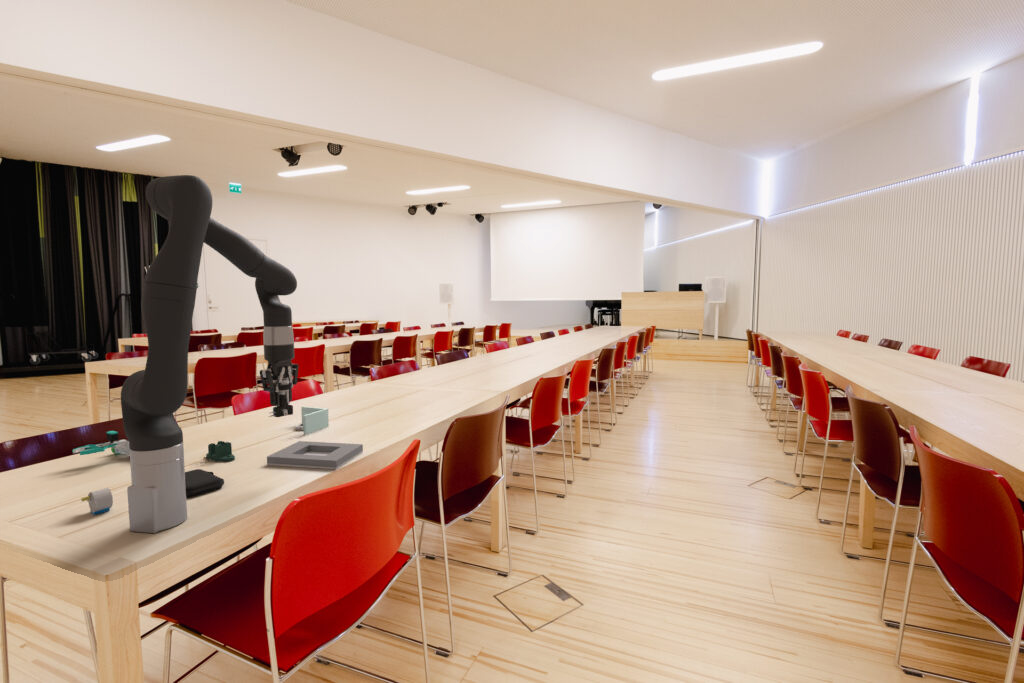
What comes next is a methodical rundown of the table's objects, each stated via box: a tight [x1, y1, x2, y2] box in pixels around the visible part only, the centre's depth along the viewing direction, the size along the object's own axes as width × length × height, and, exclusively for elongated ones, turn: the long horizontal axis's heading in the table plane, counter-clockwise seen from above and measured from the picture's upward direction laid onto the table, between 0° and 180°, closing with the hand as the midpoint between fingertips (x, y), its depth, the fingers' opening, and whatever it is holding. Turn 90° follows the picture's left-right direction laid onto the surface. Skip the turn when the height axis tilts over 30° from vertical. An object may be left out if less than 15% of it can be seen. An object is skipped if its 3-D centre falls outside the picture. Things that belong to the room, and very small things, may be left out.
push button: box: [268, 379, 294, 418], centre depth 132 cm, size 7×5×10 cm
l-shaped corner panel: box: [294, 406, 330, 435], centre depth 179 cm, size 12×12×8 cm
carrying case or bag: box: [185, 468, 225, 499], centre depth 123 cm, size 11×3×15 cm
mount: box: [205, 440, 236, 463], centre depth 145 cm, size 11×4×5 cm, turn 67°
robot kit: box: [72, 430, 130, 456], centre depth 146 cm, size 19×25×9 cm
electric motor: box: [80, 487, 114, 516], centre depth 108 cm, size 7×5×5 cm
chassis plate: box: [266, 440, 364, 470], centre depth 146 cm, size 16×22×2 cm
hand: (281, 403), depth 133 cm, fingers closed on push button, 5 cm apart
